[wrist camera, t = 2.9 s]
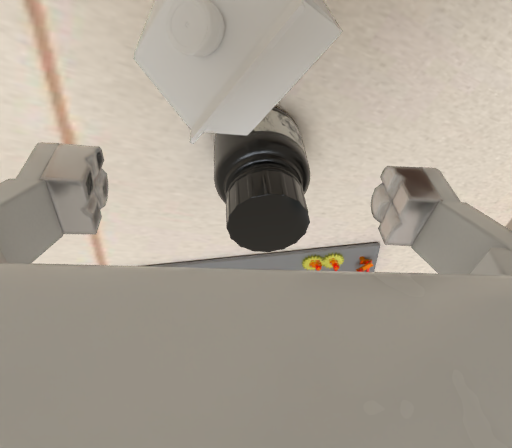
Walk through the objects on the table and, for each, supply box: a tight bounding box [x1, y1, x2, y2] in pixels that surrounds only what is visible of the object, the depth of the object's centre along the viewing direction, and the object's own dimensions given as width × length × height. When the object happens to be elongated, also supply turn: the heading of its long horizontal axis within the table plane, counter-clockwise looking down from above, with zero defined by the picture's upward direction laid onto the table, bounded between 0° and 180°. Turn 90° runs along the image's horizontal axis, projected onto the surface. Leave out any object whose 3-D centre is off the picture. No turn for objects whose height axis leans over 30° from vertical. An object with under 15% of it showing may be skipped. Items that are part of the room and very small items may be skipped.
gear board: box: [147, 243, 380, 272], centre depth 58 cm, size 45×2×19 cm
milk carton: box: [134, 0, 342, 144], centre depth 22 cm, size 7×7×19 cm
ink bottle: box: [214, 107, 310, 252], centre depth 35 cm, size 10×9×12 cm
